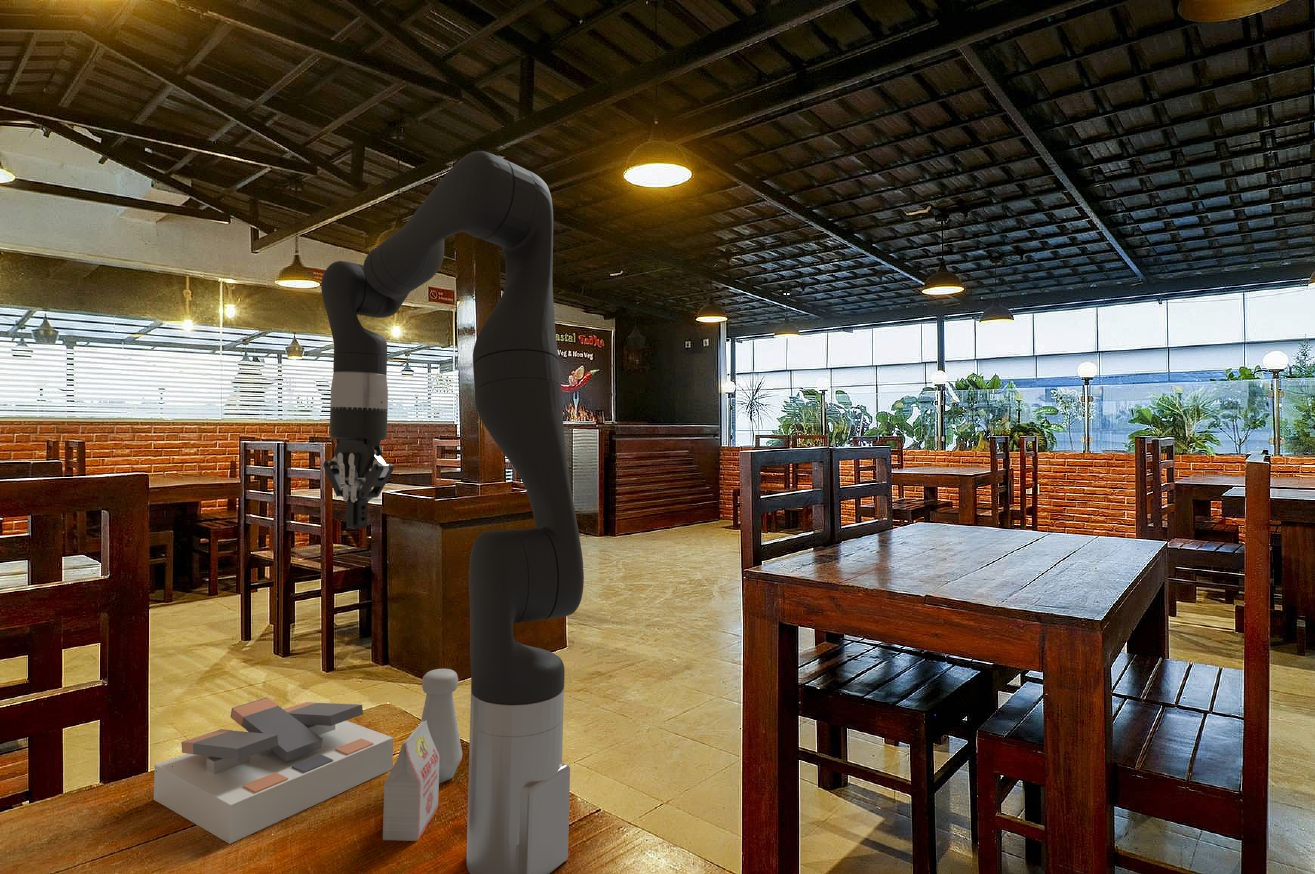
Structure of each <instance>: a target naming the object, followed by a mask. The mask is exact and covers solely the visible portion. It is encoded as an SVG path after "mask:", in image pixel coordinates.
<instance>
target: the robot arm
mask: <svg viewBox="0 0 1315 874" xmlns="http://www.w3.org/2000/svg"><path fill="white" fill-rule="evenodd" d="M458 233H465V234H467V235H469V236H471V237H473V238H475V239H480V240H481V241H485V242H488V243H490V244H492V245H496V246H499V247H500V248H501V249H502V251H503V255H504V262H505V280H504V281H505V282H504V283H505V285H504V289H503V292H502V294H501V297H500V299H499V301H498V302H497V304H496V305H495V307H494V308H493V310H492V312H491V313H490V314H489V316H488V318H487V319H486V320H485V322H484V324H483V326H482V327H481V328H480V329H481V330H480V331H479V333H478V335H477V337H476V340H475V341H474V342H475V343H474V346H473V351H472V367H473V371H472V372H473V387H474V388H473V389H474V400H475V401H474V402H475V408H476V411H477V414H478V417H479V419H480V420H481V422H482V424H483V425H484V427H485V430H487V432H488V434H489V435H490V436H491V438H492V439H493V441H494V442H495V443H496V445H497V446H498V448H499V449H500V451H501V453H503V454H504V456H505V457H506V459H507V460H508V461H509V463H510V464H511V466H512V467H513V468H514V470H515V471H516V473H517V474H518V476H519V478H520V480H521V482H522V483H523V486H524V488H525V490H526V493H527V496H528V500H529V503H530V506H531V510H532V514H533V520H534V521H533V522H534V528H519V529H517V528H515V529H498V530H488V531H484V532H482V533H481V534H479V535H478V536H477V538H476V539H475V540H474V542H473V544H472V547H471V552H470V555H469V565H468V592H469V618H470V619H469V625H470V626H469V632H470V634H469V636H470V639H469V657H470V658H469V659H470V660H469V661H470V673H471V675H470V676H471V678H470V679H471V680H470V681H471V682H470V685H471V686H470V711H469V712H470V715H469V716H470V718H469V719H470V720H469V743H468V744H469V753H468V755H469V756H468V787H467V788H468V789H467V790H468V791H467V792H468V793H467V822H466V823H467V827H466V828H467V831H466V868H467V872H468V873H469V874H550V873H552V872H553V871H554V870H556V869H557V868H559V866H561V865H562V864H563V863H564V862H566V861H567V860H569V829H570V828H569V825H570V791H571V790H570V789H571V788H570V787H571V785H570V784H571V783H570V782H571V767H570V766H569V765H568V764H566V763H563V747H564V746H563V742H564V741H563V740H564V739H563V738H564V736H563V735H564V702H565V701H564V700H565V699H564V698H565V676H566V675H565V673H566V672H565V664H564V661H563V660H562V658H561V657H560V656H559V655H557V654H556V653H553V652H552V651H550V650H547V649H543V648H540V647H535V646H530V645H526V644H523V643H520V642H518V641H516V640H515V637H514V628H513V625H514V624H517V623H518V624H519V623H525V622H534V621H541V620H551V619H557V618H558V619H560V618H563V617H568V616H571V615H573V614H575V612H576V611H577V610H578V608H579V606H580V604H581V601H582V600H583V599H582V598H583V593H584V587H585V585H584V584H585V583H584V581H585V580H584V579H585V576H584V575H585V573H584V570H585V569H584V560H583V559H584V558H583V552H582V551H583V550H582V544H581V538H580V532H579V527H578V526H579V525H578V521H577V520H578V519H577V515H576V509H575V504H574V498H573V492H572V486H571V480H570V475H569V468H568V457H567V450H566V437H565V426H564V424H565V423H564V412H563V411H564V410H563V394H562V393H563V391H562V379H561V369H560V358H559V351H558V350H559V349H558V341H557V335H556V334H557V333H556V319H555V304H554V288H553V287H554V286H553V284H554V283H553V282H554V281H553V268H554V266H553V265H554V261H553V260H554V259H553V258H554V256H553V255H554V251H553V250H554V249H553V248H554V208H553V199H552V194H551V192H550V189H549V186H548V185H547V183H546V182H545V180H543V179H542V177H540V176H539V175H537V174H536V173H535V172H532V171H531V170H528V169H526V168H524V167H522V166H519V165H518V164H516V163H514V162H511V161H509V160H507V159H505V158H503V157H500V156H498V155H495V154H493V153H491V152H487V151H484V150H477V151H473V152H470V153H468V154H465V156H463V157H462V158H460V159H459V160H458V161H457V162H456V163H454V165H453V166H452V167H451V168H450V170H448V172H447V173H446V174H445V175H444V177H442V178H441V179H440V181H439V182H438V183H437V185H435V187H434V188H433V190H432V191H431V192H430V193H429V194H428V195H427V197H426V198H425V199H424V200H423V202H422V203H421V204H420V205H419V206H418V208H417V210H416V211H415V212H414V213H413V215H412V216H411V217H410V218H409V219H408V220H407V222H406V223H405V224H404V225H403V226H402V227H401V228H399V229H398V230H397V231H396V232H395V233H393V234H392V235H391V236H389V237H388V238H386V239H385V240H384V241H383V242H381V243H380V244H378V245H377V246H376V247H374V248H373V249H372V250H371V251H369V253H368V254H367V256H366V257H365V259H364V262H363V264H359V263H355V262H351V261H347V260H344V261H343V260H338V261H334V262H332V263H330V264H329V265H328V267H326V269H325V271H324V273H323V274H322V279H321V284H320V285H321V287H320V288H321V289H320V290H321V297H322V301H323V305H324V309H325V310H326V314H327V319H328V323H329V328H330V332H331V336H332V343H333V365H332V367H333V368H332V371H333V373H332V379H331V380H332V381H331V386H330V403H329V404H330V409H329V416H330V417H329V437H330V438H331V439H333V440H336V445H335V448H334V457H333V458H332V459H331V460H325V461H323V468H324V470H325V473H326V475H327V478H328V480H329V482H330V484H331V486H332V488H333V491H334V493H335V496H337V497H341V498H342V500H343V501H344V502H345V504H346V505H345V522H346V524H345V525H346V528H348V529H352V530H360V529H365V528H366V526H367V523H368V505H369V502H370V501H371V500H372V499H374V498H376V499H377V498H379V496H380V494H381V492H382V490H383V489H384V487H385V485H386V484H387V482H388V480H389V479H390V478H391V475H392V473H393V471H394V469H395V467H394V464H393V463H387V462H386V461H385V460H384V459H383V449H382V445H381V441H383V440H385V439H387V436H388V414H389V413H388V411H389V410H388V407H389V406H388V405H389V389H388V380H387V379H388V377H387V375H388V374H387V372H388V344H387V340H386V338H385V337H384V336H383V335H381V334H379V333H376V332H374V331H371V330H368V329H366V328H365V327H364V326H363V325H362V324H361V321H360V320H359V317H358V315H359V316H365V317H369V318H370V317H371V318H378V319H379V318H380V319H382V318H388V317H391V316H393V315H396V314H397V312H399V310H400V308H401V307H402V305H403V303H404V301H405V300H406V299H407V297H408V296H409V294H410V293H411V292H413V291H414V290H417V288H419V287H421V286H422V285H424V284H426V283H427V282H429V281H430V280H431V279H432V278H433V277H434V276H435V275H437V273H438V271H439V270H440V269H441V267H442V266H443V265H442V263H443V261H444V256H445V239H447V238H448V237H451V236H453V235H456V234H458Z"/></svg>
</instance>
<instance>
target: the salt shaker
mask: <svg viewBox="0 0 1315 874" xmlns="http://www.w3.org/2000/svg"><path fill="white" fill-rule="evenodd" d="M458 686H459V676H458V674H457V672H456V671H455V670H453V669H450V668H436V669H432V670H429V671H428V672H426V673H425V674H424V675H423V676H422V680H421V687H422V691H423V693H424V694H426V695H425V701H424V706H423V711H422V714H421V715H422V716H421V719H420V723H421V722H422V721H423V722H424V721H426V720H427V726H428V729H429V732H430V735H431V738H432V740H433V742H434V744H435V747H436V749H437V751H438V754H439V784H442V783H445V782H447V781H449V780H451V779H453V778H454V776H455V774H456V771H457V769H458V767H459V766H460V763H461V761H462V760H463V749H462V745H461V739H460V732H459V726H458V722H457V716H456V713H457V712H456V708H455V700H454V694H453V692H455V691H456V690H458V689H457V688H458Z"/></svg>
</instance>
